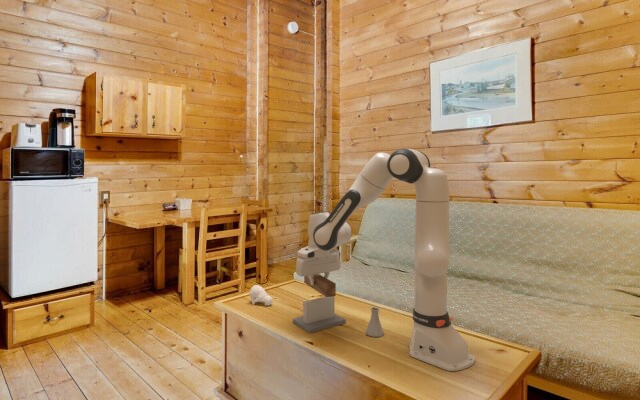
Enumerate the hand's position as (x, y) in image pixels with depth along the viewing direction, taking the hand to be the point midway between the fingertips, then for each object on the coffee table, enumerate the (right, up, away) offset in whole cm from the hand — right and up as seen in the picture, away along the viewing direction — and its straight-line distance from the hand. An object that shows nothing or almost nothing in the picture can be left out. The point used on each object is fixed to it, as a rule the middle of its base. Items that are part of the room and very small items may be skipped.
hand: (318, 283), depth 159 cm
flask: (+22, -18, -10) cm, 30 cm away
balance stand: (0, -17, +1) cm, 17 cm away
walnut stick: (0, -2, 0) cm, 2 cm away
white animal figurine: (-27, -15, +24) cm, 39 cm away
